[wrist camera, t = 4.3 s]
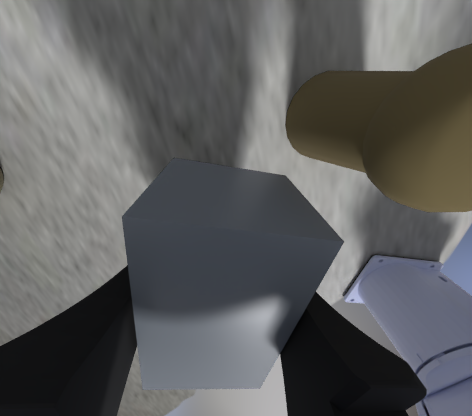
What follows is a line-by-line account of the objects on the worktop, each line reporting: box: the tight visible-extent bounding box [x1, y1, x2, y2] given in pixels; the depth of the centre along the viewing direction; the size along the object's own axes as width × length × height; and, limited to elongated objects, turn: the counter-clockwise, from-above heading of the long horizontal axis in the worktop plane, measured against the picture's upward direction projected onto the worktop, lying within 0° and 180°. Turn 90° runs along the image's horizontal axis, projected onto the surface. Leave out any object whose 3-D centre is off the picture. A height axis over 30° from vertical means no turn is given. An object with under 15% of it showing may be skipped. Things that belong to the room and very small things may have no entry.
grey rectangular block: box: [122, 158, 344, 390], centre depth 10 cm, size 6×11×6 cm, turn 170°
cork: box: [286, 44, 472, 212], centre depth 10 cm, size 6×6×11 cm
